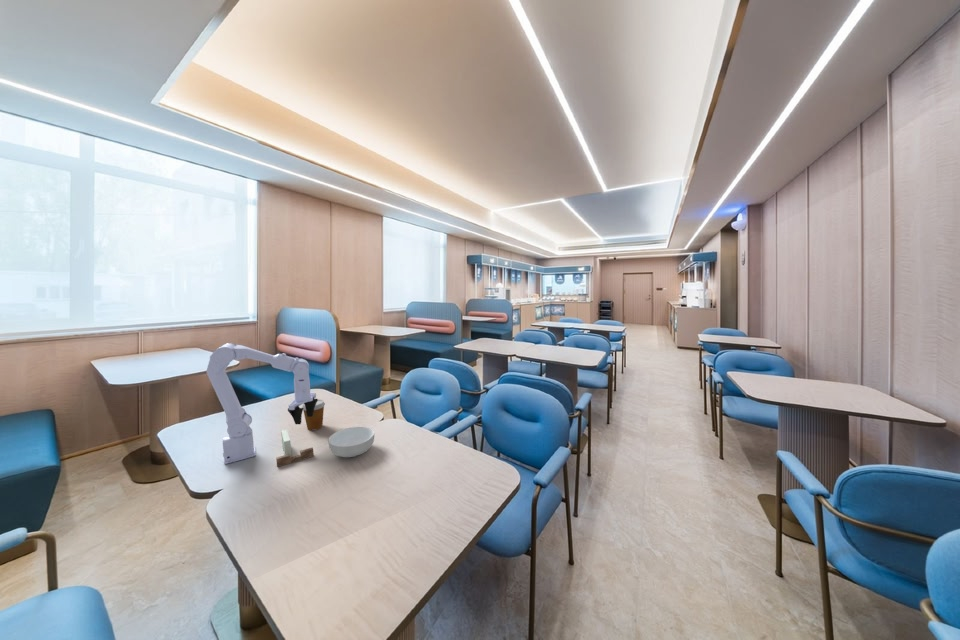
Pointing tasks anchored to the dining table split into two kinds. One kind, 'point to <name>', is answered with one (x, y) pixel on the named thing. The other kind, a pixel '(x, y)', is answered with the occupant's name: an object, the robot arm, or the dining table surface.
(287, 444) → the sage slot plate
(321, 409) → the disposable coffee cup
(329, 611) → the dining table surface
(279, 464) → the walnut slot board
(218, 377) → the robot arm
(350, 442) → the cereal bowl
